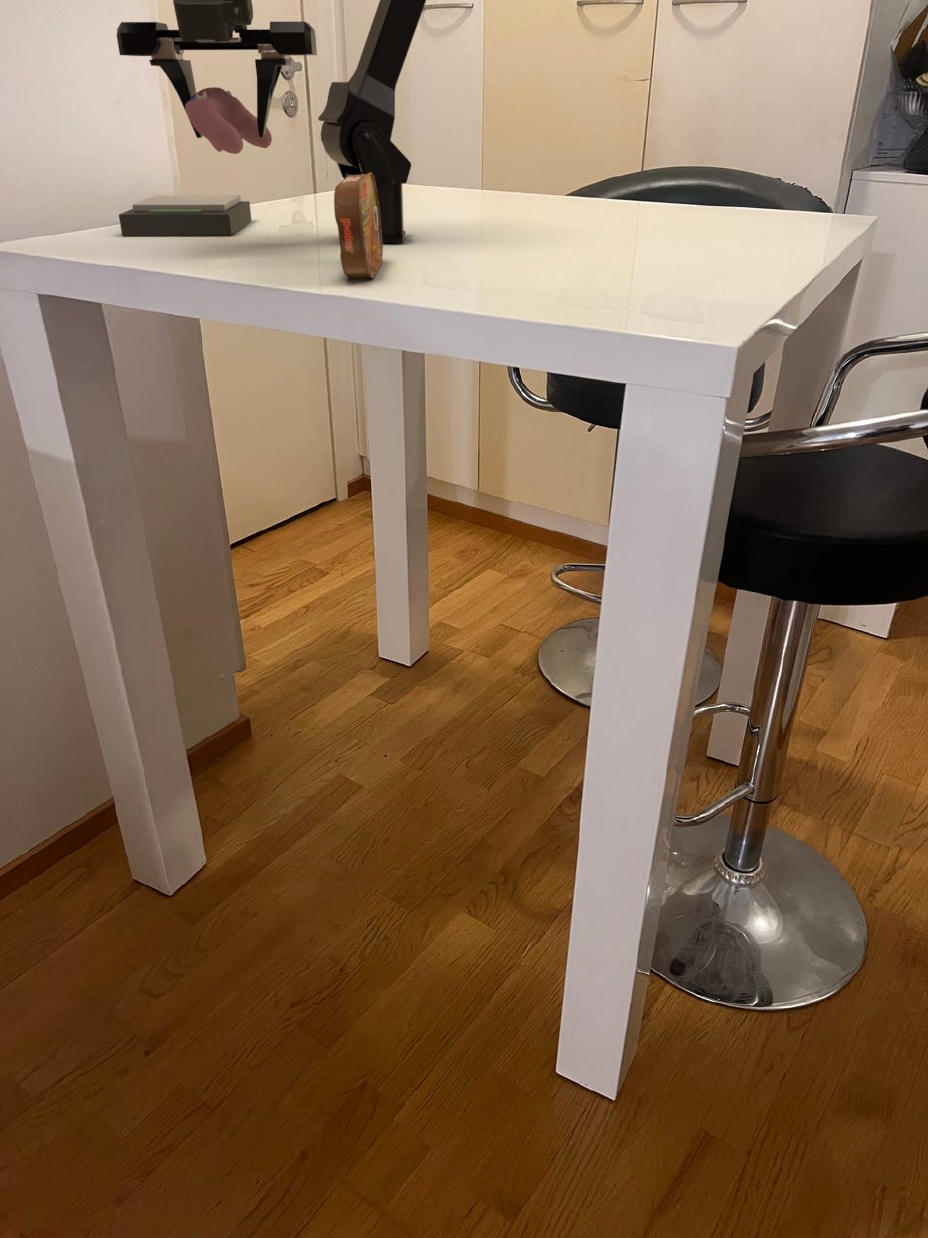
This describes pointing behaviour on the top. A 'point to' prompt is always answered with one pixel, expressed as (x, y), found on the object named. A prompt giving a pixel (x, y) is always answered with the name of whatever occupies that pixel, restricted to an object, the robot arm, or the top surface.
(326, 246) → the top surface
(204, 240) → the top surface
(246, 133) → the video game controller
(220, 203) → the scale
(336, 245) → the top surface
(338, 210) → the tin
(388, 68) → the robot arm
